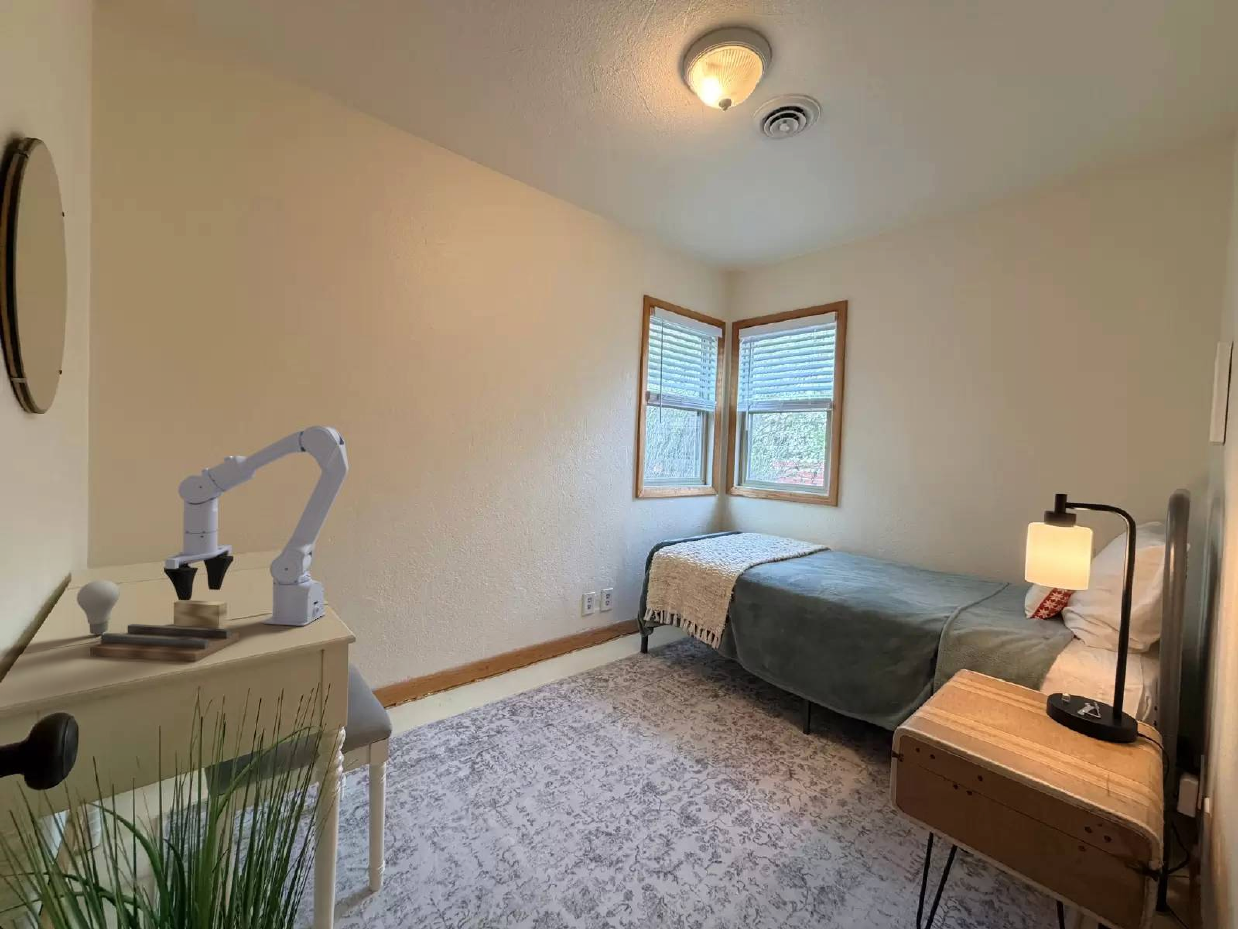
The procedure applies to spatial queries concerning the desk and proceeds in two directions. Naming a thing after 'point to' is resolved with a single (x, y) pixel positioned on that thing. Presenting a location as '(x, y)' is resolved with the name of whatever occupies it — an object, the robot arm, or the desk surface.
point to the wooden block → (200, 613)
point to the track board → (164, 642)
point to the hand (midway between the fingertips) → (200, 594)
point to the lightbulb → (98, 603)
